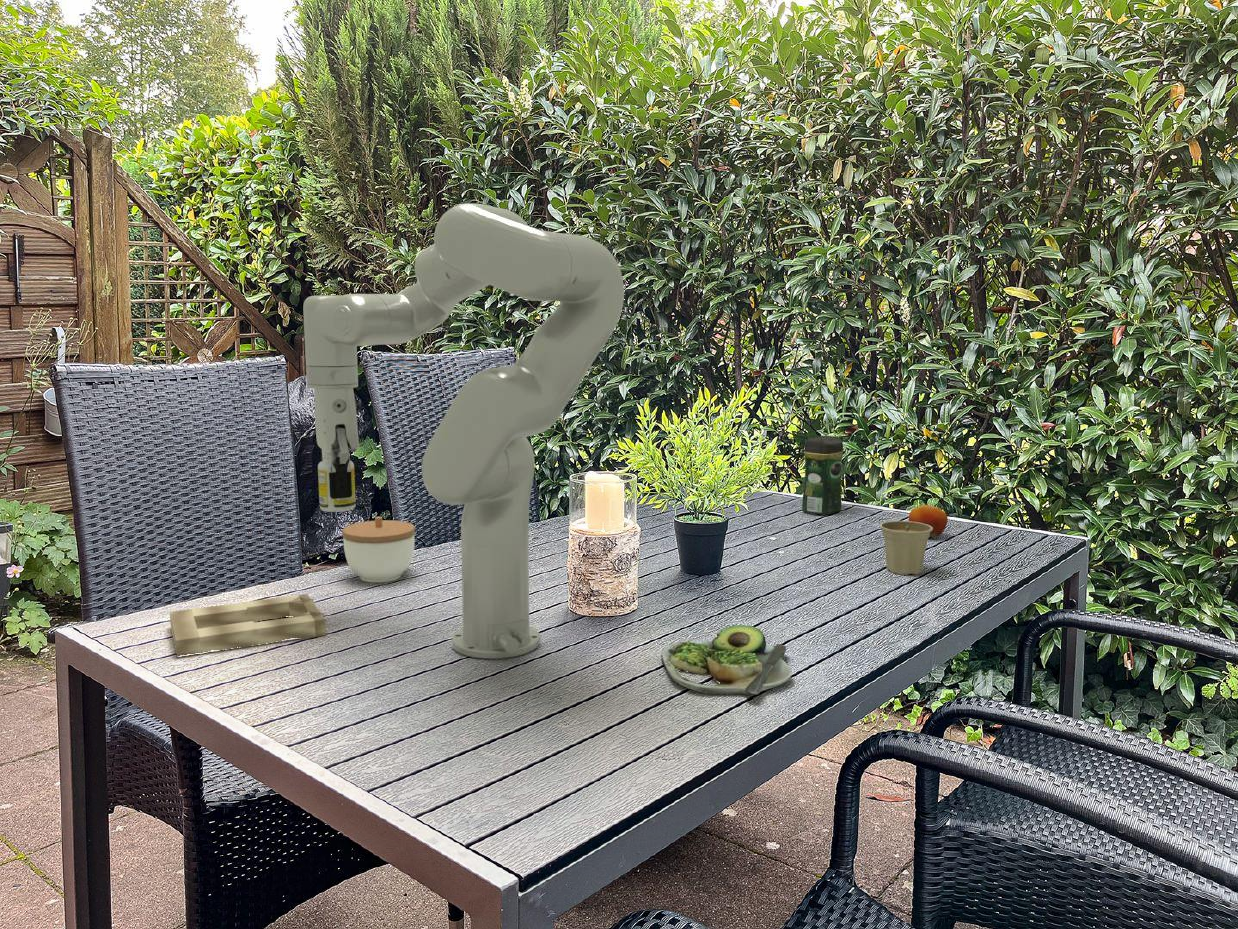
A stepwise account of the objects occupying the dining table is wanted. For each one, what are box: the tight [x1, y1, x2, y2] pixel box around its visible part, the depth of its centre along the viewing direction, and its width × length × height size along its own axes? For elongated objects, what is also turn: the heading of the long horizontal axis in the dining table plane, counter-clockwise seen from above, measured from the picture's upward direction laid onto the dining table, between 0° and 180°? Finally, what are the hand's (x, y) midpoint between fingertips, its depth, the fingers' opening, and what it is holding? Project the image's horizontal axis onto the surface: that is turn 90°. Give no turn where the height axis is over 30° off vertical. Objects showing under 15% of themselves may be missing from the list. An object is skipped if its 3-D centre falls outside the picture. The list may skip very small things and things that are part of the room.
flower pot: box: [879, 520, 933, 576], centre depth 175 cm, size 9×9×9 cm
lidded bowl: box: [342, 516, 416, 584], centre depth 168 cm, size 13×13×11 cm
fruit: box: [908, 504, 949, 541], centre depth 203 cm, size 8×8×8 cm
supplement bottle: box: [317, 447, 357, 513], centre depth 146 cm, size 5×5×10 cm
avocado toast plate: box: [660, 624, 792, 696], centre depth 125 cm, size 19×18×5 cm
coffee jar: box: [801, 435, 844, 516], centre depth 226 cm, size 10×8×19 cm
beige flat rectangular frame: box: [169, 593, 327, 657], centre depth 140 cm, size 20×14×2 cm
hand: (337, 493), depth 146 cm, fingers closed on supplement bottle, 5 cm apart
